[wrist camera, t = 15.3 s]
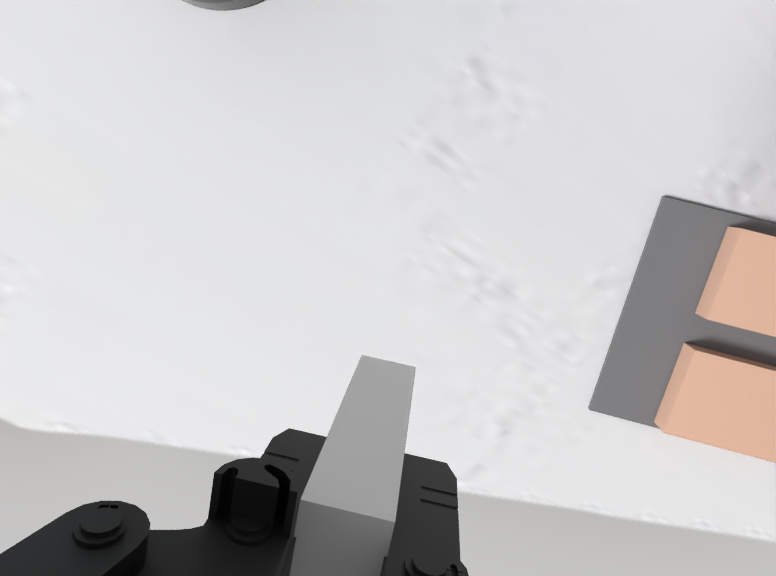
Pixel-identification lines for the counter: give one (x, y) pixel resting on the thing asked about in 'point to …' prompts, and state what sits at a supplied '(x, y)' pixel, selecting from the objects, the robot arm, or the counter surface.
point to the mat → (672, 311)
